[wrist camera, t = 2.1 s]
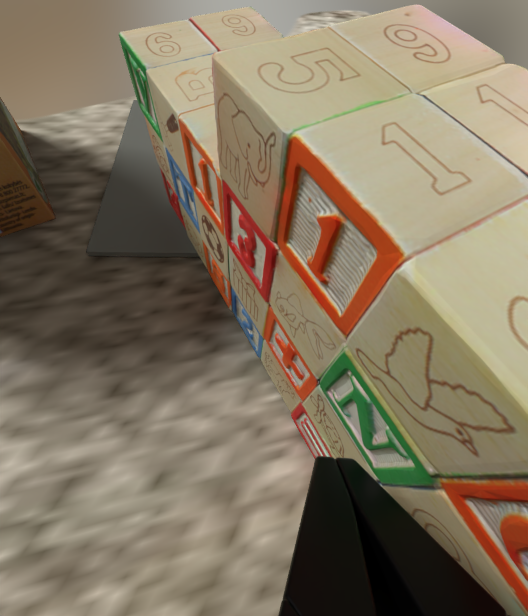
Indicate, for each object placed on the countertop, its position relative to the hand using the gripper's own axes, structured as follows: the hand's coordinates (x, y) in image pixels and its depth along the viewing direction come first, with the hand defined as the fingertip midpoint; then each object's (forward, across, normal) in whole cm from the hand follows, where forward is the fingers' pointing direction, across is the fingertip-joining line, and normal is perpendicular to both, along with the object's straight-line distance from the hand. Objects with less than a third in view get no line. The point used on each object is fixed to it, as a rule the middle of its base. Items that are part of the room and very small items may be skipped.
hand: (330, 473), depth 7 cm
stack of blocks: (+11, 0, 0) cm, 11 cm away
